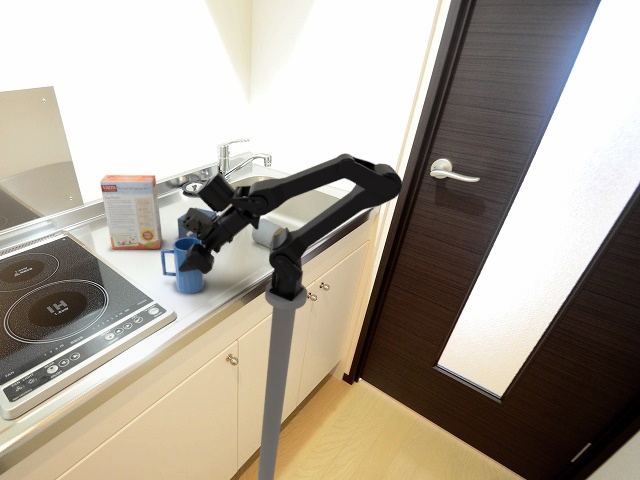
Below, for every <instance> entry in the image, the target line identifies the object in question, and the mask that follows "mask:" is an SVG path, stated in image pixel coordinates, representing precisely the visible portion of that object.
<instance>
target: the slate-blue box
mask: <svg viewBox="0 0 640 480" xmlns="http://www.w3.org/2000/svg"><path fill="white" fill-rule="evenodd" d="M194 208H195V209H197V210H199V211H201V212H203V213H205V214H206V215H208V216H209V217H212V218H213V217H214V216H215V215H218V213H217V212H216V211H215V212H214V211H213V210H207V209H203V208H200V207H199V208H198V207H194ZM185 215H186V213H184V214H183V215H181V216H180V217H178V218H177V230H178V231H177V232H178V233H177V234H178V239H181V238H187V237H191V238H197V233H193V232H191V231H189V230H187V229H186V228H184V227H183V226H182V225H181V224H182V222H183V220H184V217H185Z"/></svg>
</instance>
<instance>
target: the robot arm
mask: <svg viewBox="0 0 640 480" xmlns="http://www.w3.org/2000/svg"><path fill="white" fill-rule="evenodd" d="M343 179H345V180H347V181H350V182H352V183H353V184H355V185H354V186H353V188H352V189H351V191H349V192H348V193H347V194H346V195H344V196H342V197H341V198H340V199H338V200H337V201H335V202H334V203H333V204H331V205H330V206H329V207H328V208H326V209H325V210H323V211H322V212H320V213H319V214H318V215H316V216H315V217H314V218H312V219H311V220H309V221H308V222H307V223H305V224H303V226H301V227H300V228H298V229H296V230H295V229H294V230H291V231H290V229H289V228H288V227H285V228H284V230H283V231H282V232H281V233H279V234H278V235H275V236H274V237H273V241H272V242H271V244H270V248H269V252H268V253H269V254H268V264H269V265H270V266H271V268H273V271H272V272H271V281H270V282H271V286H272V288H271V289H269V292H270V293H272V294H274V295H277V296H279V297H281V298H284V299H286V300H288V301H293V300H294V299H295V298H296V297H297V296H298V295H299V294H300V293H301V292H302V291H303V290H304V288H303V287H301V284H302V283H303V276H304V271H303V264H302V263H303V260H302V257H303V255H304V254H305V253H306V252H307V250H308V249H309V248H310V247H311V246H313V245H314V244H315V243H317V242H318V241H320V240H321V239H323V238H324V237H326V236H327V235H328V234H330V233H332V232H333V231H334V230H337V228H339V227H340V226H342V225H343V224H345V223H346V222H347V221H349V220H350V219H352V218H353V217H355V216H356V215H358V214H360V212H362V211H364V210H368V209H372V208H377V207H379V206H382V205H384V204H386V203H389V202H390V201H392V200H394V199H395V198H397V197H398V196H399V195H400V194H401V192H402V188H403V180H402V178H401V177H400V175H399V174H398V173H397V171H396V170H395V169H394V168H393V167H392V166H391V165H390V164H387V163H374V162H371V161H368V160H365V159H362V158H359V157H356V156H353V155H351V154H350V153H341V154H339V155H338V156H336V157H334V158H332V159H329V160H325V161H323V162H321V163H318V164H316V165H313V166H310V167H309V168H308V167H307V168H305V169H303V170H301V171H297V172H296V173H293V174H291V175H288V176H285V177H281V178H268V179H263V180H259V181H258V180H257V181H255V182H254V183H252V184H251V185H240V186H235V188H234V187H233V186H232V185H231V184H230V183H229V182H228V181H227V180H226V179H225V177H224V175H223V174H222V173H221V172H220V171H219V172H217V173H216V174H214V175H213V176H212V177H211V178H208V179H207V180H206V181H205V182H204V183H203V184H202V185H201V186H200V187H199V188H198V189H197V191H196V192H195V195H196V196H198V198H199V199H200V200H201V201H202V202H203V203H204V204H205V205H207V207H209V209H210V210H211V211H213V212H217V215H215V216H214V217H213V218H212V217H209V216H208V215H206V214H205V213H203V212H201V211H199V210H197V209H195V208H196V207H189V208H188V210H187V211H186V213H185V214H186V215H185V217H184V220H183V222H182V224H181V225H182V226H183V227H184V228H186V229H187V230H189V231H191V232H193V233H197V238H196V239H199V240H200V243H201V244H203V246H202V245H201V244H196V243H194V244H193V245H192V246H191V247H189V248H188V250H187V253H186V255H185V256H186V260H185V261H184V262H183V263H182V265H181V266H180V267H179V269H178V270H179V271H180V272H186V271H192V270H200V271H201V272H202V273H203V274H204V275H207V274H209V273H210V272H211V271H212V270H213V268H214V264H215V256H214V255H213V254H212V251H213V252H214V253H215V254H219V253H220V252H221V249H222V247H224V246H225V245H226V244H227V243H228V244H231V243H232V242H233V241H234V237H236V236H237V235H238V234H240V232H242V231H243V230H245V228H247V227H248V226H249V225H251V226H252V227H253V228H255V229H256V230H258V229H259V223H260V222H259V220H260V219H261V217H262V216H266V215H268V214H269V213H271V212H273V211H274V210H276V209H278V208H280V206H282V205H283V204H284V203H285V202H287V201H289V200H291V199H292V198H295V197H297V196H300V195H304V194H306V193H308V192H311V191H314V190H317V189H320V188H322V187H325V186H327V185H330V184H333V183H335V182H338V181H341V180H343ZM218 213H221V214H220V215H219V214H218ZM302 285H303V284H302Z"/></svg>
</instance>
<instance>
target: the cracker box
mask: <svg viewBox="0 0 640 480" xmlns="http://www.w3.org/2000/svg"><path fill="white" fill-rule="evenodd" d="M99 184H100V189H101V195H102V201H103V206H104V211H105V217H106V222H107V223H106V224H107V229H108V233H109V239H110V244H111V248H112V250H159V249H160V248H161V246H162V242H163V233H162V225H161V224H162V223H161V215H160V206H159V197H158V196H159V195H158V188H157V179H156V174H106V175H104V176H103V178H102V179H101V180H100V181H99Z"/></svg>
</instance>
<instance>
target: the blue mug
mask: <svg viewBox="0 0 640 480" xmlns="http://www.w3.org/2000/svg"><path fill="white" fill-rule="evenodd" d="M194 243H196V244H201V243H200V240H199V239H196V238H191V237H187V238H181V239H179V238H178V239H176V240H175V241H173V244H172V248H173V249H165V248H161V249H160V259H161V270H162V275H163V276H165V277H175V284H176V289H177V290H178V291H179V292H180V293H183V294H196V293H198V292H201V290H203V288H204V286H205V277H204V275H205V274H203V273H202V272H201V271H200V270H192V271H186V272H180V271H179V270H178V269H179V267H180V266H181V265H182V263H183V262H184V261H185V260H186V256H185V255H186V253H187V250H188V248H189V247H191V246H192V245H193V244H194ZM201 245H202V246H203V244H201ZM165 254H173V259H174V272H171V271H167V264H166V256H165Z"/></svg>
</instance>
